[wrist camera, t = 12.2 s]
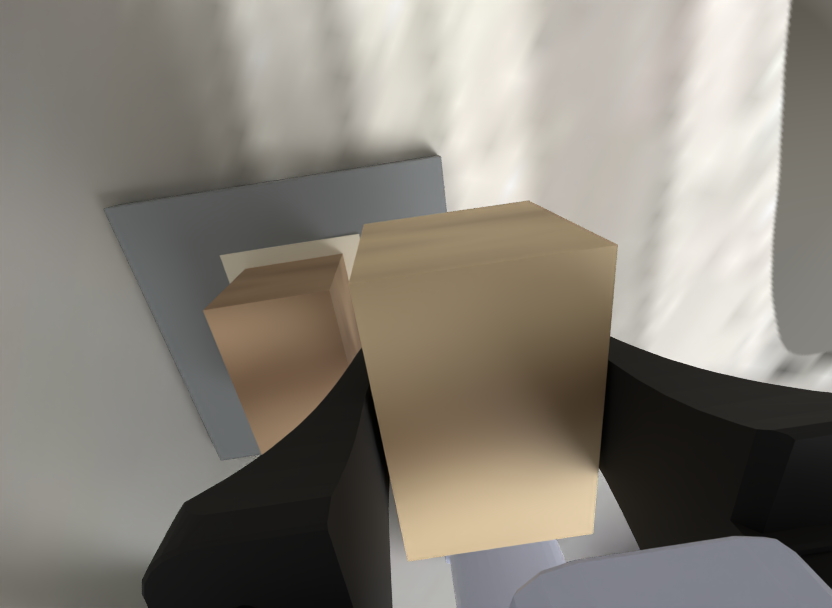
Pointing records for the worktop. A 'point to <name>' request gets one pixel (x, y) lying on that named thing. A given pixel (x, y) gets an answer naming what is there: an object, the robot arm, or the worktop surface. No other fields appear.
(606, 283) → the oak block
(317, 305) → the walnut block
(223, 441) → the board
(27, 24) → the worktop surface
